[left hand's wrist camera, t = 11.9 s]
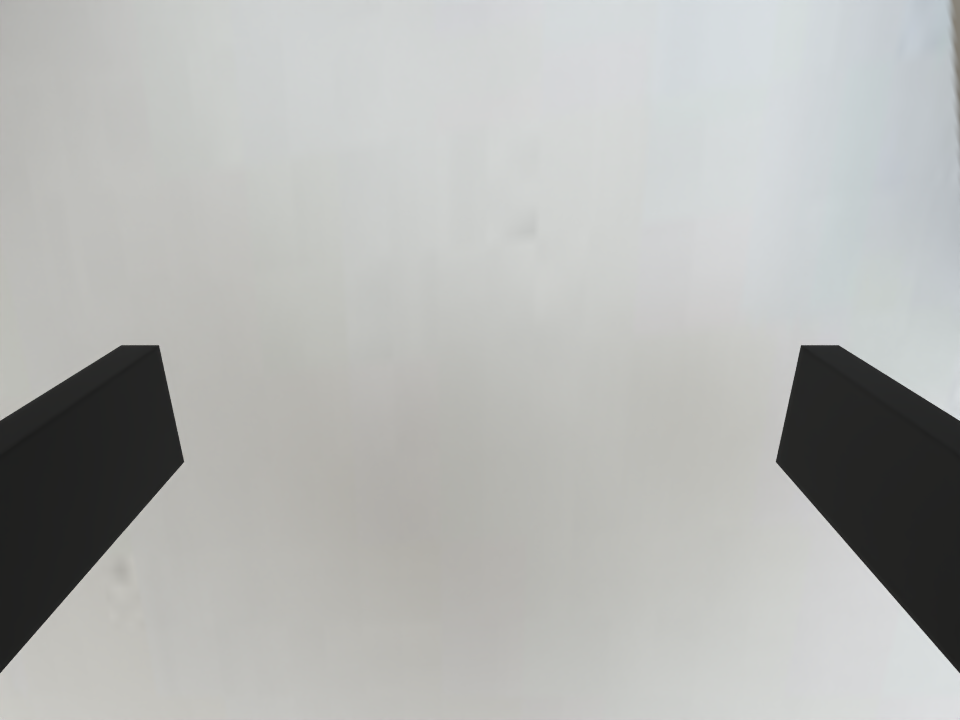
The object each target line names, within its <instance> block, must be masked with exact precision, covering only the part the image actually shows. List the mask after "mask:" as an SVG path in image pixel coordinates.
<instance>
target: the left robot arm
mask: <svg viewBox="0 0 960 720" xmlns="http://www.w3.org/2000/svg"><path fill="white" fill-rule="evenodd" d="M183 463H184V459H183V455H182V450H181V446H180V441H179V436H178V432H177V427H176V422H175V418H174V413H173V408H172V404H171V399H170V395H169V390H168V385H167V381H166V376H165V371H164V367H163V362H162V357H161V353H160V348H159V345H121V346H120V347H118V348H116V349H115V350H113V351H112V352H110V353H108V354H107V355H105V356H104V357H102V358H100V359H99V360H97V361H96V362H94V363H92V364H91V365H89V366H88V367H86V368H84V369H83V370H81V371H80V372H78V373H76V374H75V375H73V376H71V377H70V378H68V379H67V380H65V381H63V382H62V383H60V384H59V385H57V386H55V387H54V388H52V389H51V390H49V391H47V392H46V393H44V394H43V395H41V396H39V397H38V398H36V399H35V400H33V401H31V402H30V403H28V404H27V405H25V406H23V407H22V408H20V409H19V410H17V411H15V412H14V413H12V414H11V415H9V416H7V417H6V418H4V419H2V420H1V421H0V673H1V672H2V670H3V669H4V668H5V667H6V666H7V665H8V664H9V662H10V661H11V660H12V659H13V658H14V657H15V656H16V654H17V653H18V652H19V651H20V650H21V649H22V647H23V646H24V645H25V644H26V643H27V642H28V641H29V639H30V638H31V637H32V636H33V635H34V634H35V633H36V631H37V630H38V629H39V628H40V627H41V626H42V624H43V623H44V622H45V621H46V620H47V619H48V618H49V616H50V615H51V614H52V613H53V612H54V611H55V610H56V608H57V607H58V606H59V605H60V604H61V603H62V602H63V600H64V599H65V598H66V597H67V596H68V595H69V593H70V592H71V591H72V590H73V589H74V588H75V587H76V585H77V584H78V583H79V582H80V581H81V580H82V579H83V577H84V576H85V575H86V574H87V573H88V572H89V570H90V569H91V568H92V567H93V566H94V565H95V564H96V562H97V561H98V560H99V559H100V558H101V557H102V556H103V554H104V553H105V552H106V551H107V550H108V549H109V548H110V546H111V545H112V544H113V543H114V542H115V541H116V539H117V538H118V537H119V536H120V535H121V534H122V533H123V531H124V530H125V529H126V528H127V527H128V526H129V525H130V523H131V522H132V521H133V520H134V519H135V518H136V517H137V515H138V514H139V513H140V512H141V511H142V510H143V508H144V507H145V506H146V505H147V504H148V503H149V502H150V500H151V499H152V498H153V497H154V496H155V495H156V494H157V492H158V491H159V490H160V489H161V488H162V487H163V485H164V484H165V483H166V482H167V481H168V480H169V479H170V477H171V476H172V475H173V474H174V473H175V472H176V471H177V469H178V468H179V467H180V466H181V465H182V464H183ZM776 463H777V464H778V465H779V466H780V467H781V468H782V469H783V471H784V472H785V473H786V474H787V475H788V476H789V477H790V479H791V480H792V481H793V482H794V483H795V484H796V485H797V487H798V488H799V489H800V490H801V491H802V492H803V494H804V495H805V496H806V497H807V498H808V499H809V500H810V502H811V503H812V504H813V505H814V506H815V507H816V508H817V510H818V511H819V512H820V513H821V514H822V515H823V517H824V518H825V519H826V520H827V521H828V522H829V523H830V525H831V526H832V527H833V528H834V529H835V530H836V531H837V533H838V534H839V535H840V536H841V537H842V538H843V539H844V541H845V542H846V543H847V544H848V545H849V546H850V548H851V549H852V550H853V551H854V552H855V553H856V554H857V556H858V557H859V558H860V559H861V560H862V561H863V562H864V564H865V565H866V566H867V567H868V568H869V569H870V570H871V572H872V573H873V574H874V575H875V576H876V577H877V579H878V580H879V581H880V582H881V583H882V584H883V585H884V587H885V588H886V589H887V590H888V591H889V592H890V593H891V595H892V596H893V597H894V598H895V599H896V600H897V602H898V603H899V604H900V605H901V606H902V607H903V608H904V610H905V611H906V612H907V613H908V614H909V615H910V616H911V618H912V619H913V620H914V621H915V622H916V623H917V624H918V626H919V627H920V628H921V629H922V630H923V631H924V633H925V634H926V635H927V636H928V637H929V638H930V639H931V641H932V642H933V643H934V644H935V645H936V646H937V647H938V649H939V650H940V651H941V652H942V653H943V654H944V656H945V657H946V658H947V659H948V660H949V661H950V662H951V664H952V665H953V666H954V667H955V668H956V669H957V670H958V672H959V673H960V421H959V420H958V419H956V418H954V417H953V416H951V415H949V414H948V413H946V412H945V411H943V410H941V409H940V408H938V407H937V406H935V405H933V404H932V403H930V402H929V401H927V400H925V399H924V398H922V397H921V396H919V395H917V394H916V393H914V392H913V391H911V390H909V389H908V388H906V387H905V386H903V385H901V384H900V383H898V382H897V381H895V380H893V379H892V378H890V377H889V376H887V375H885V374H884V373H882V372H880V371H879V370H877V369H876V368H874V367H872V366H871V365H869V364H868V363H866V362H864V361H863V360H861V359H860V358H858V357H856V356H855V355H853V354H852V353H850V352H848V351H847V350H845V349H844V348H842V347H840V346H839V345H801V348H800V353H799V357H798V362H797V367H796V371H795V376H794V381H793V385H792V390H791V395H790V399H789V404H788V408H787V413H786V418H785V422H784V427H783V432H782V436H781V441H780V446H779V450H778V455H777V459H776Z"/></svg>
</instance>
